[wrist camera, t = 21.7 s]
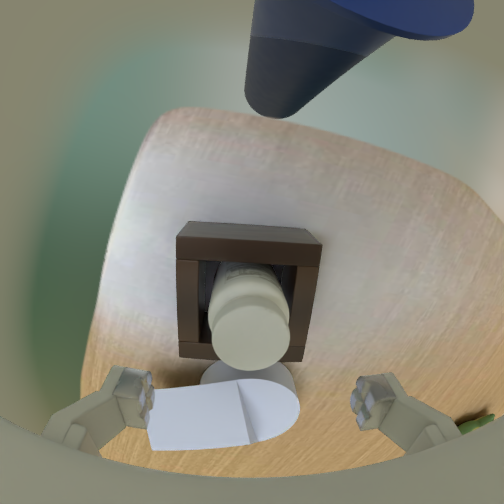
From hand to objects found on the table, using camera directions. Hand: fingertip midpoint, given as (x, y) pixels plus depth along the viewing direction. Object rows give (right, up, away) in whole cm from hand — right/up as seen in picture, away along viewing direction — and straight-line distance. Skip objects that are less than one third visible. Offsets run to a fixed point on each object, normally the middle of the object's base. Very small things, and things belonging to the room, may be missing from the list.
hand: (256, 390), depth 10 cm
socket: (-1, +3, +12) cm, 12 cm away
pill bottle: (-1, +3, +12) cm, 13 cm away
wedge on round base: (-3, -8, +16) cm, 18 cm away
